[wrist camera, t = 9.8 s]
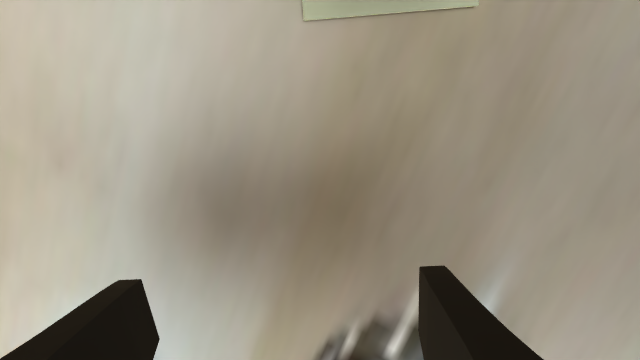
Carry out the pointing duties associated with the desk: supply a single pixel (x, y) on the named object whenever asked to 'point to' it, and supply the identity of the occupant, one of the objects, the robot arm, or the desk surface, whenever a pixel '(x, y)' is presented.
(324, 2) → the pad
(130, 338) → the robot arm
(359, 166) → the desk surface
